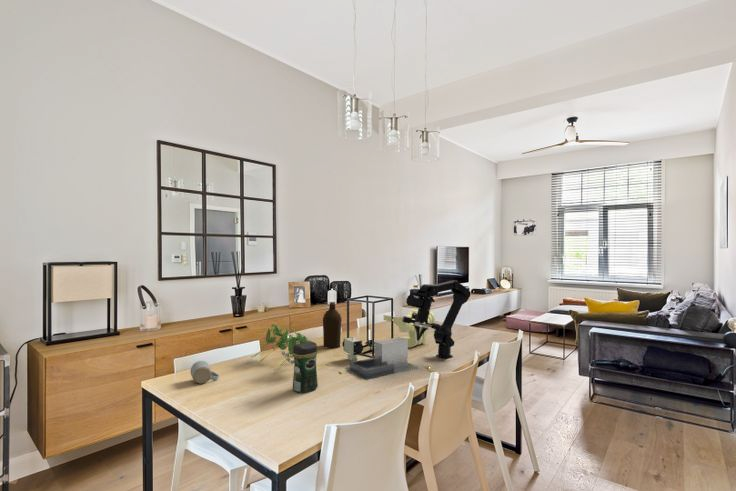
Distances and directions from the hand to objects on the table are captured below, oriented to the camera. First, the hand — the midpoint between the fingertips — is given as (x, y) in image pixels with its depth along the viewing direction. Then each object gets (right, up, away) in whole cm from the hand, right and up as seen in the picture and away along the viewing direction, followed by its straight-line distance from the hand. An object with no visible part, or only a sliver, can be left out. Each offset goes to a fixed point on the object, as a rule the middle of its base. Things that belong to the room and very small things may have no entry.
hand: (417, 340), depth 182 cm
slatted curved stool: (0, -11, +35) cm, 37 cm away
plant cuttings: (-66, -10, -8) cm, 67 cm away
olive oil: (-45, -11, +28) cm, 54 cm away
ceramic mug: (-93, -10, -27) cm, 98 cm away
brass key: (+4, -11, -13) cm, 18 cm away
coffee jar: (-50, -10, -35) cm, 62 cm away
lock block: (-14, -10, -9) cm, 19 cm away
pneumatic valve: (-32, -11, 0) cm, 34 cm away
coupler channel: (-18, -11, -12) cm, 24 cm away
